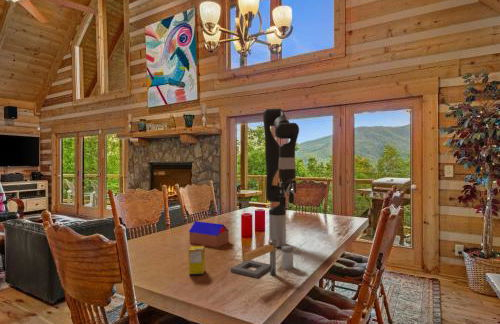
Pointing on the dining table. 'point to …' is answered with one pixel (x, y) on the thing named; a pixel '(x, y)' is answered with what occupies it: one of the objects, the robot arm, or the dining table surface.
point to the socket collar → (253, 273)
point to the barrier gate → (263, 250)
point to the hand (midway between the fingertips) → (287, 204)
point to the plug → (287, 257)
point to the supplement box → (196, 260)
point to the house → (208, 234)
